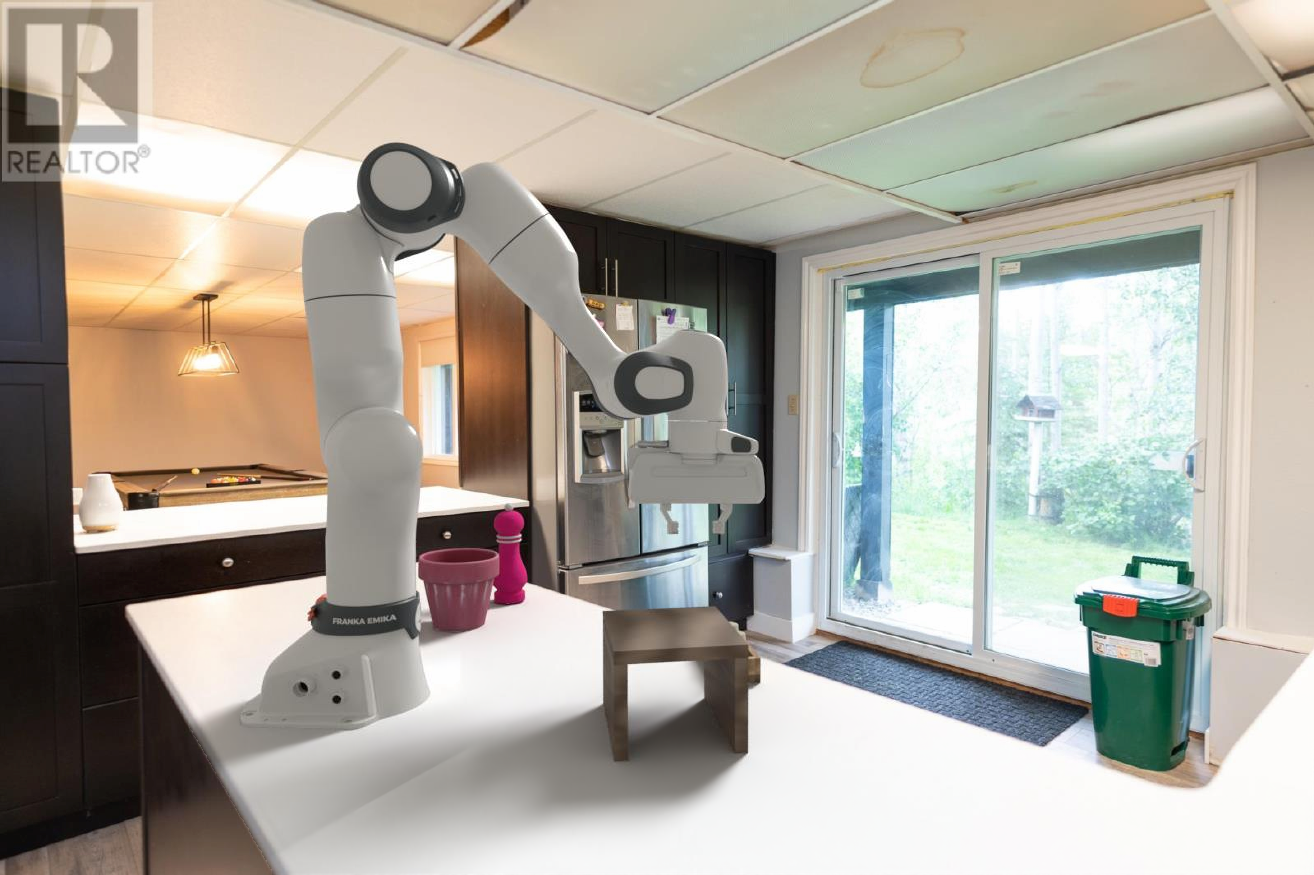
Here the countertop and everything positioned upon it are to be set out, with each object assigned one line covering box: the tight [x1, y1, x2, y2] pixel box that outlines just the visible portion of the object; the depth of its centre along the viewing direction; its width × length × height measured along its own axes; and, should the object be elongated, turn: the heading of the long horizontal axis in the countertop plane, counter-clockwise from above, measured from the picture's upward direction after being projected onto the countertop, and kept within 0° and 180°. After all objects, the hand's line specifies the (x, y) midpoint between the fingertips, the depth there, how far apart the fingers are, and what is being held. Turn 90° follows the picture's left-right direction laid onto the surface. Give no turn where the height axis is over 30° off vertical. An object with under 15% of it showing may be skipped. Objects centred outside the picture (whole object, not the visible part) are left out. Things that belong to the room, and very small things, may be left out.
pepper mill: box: [493, 502, 528, 605], centre depth 146 cm, size 7×7×20 cm
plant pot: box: [417, 547, 499, 632], centre depth 129 cm, size 14×14×13 cm
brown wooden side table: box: [602, 605, 749, 763], centre depth 86 cm, size 15×16×12 cm
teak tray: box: [729, 621, 762, 684], centre depth 109 cm, size 6×18×6 cm, turn 7°
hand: (695, 533), depth 106 cm, fingers open, 6 cm apart
